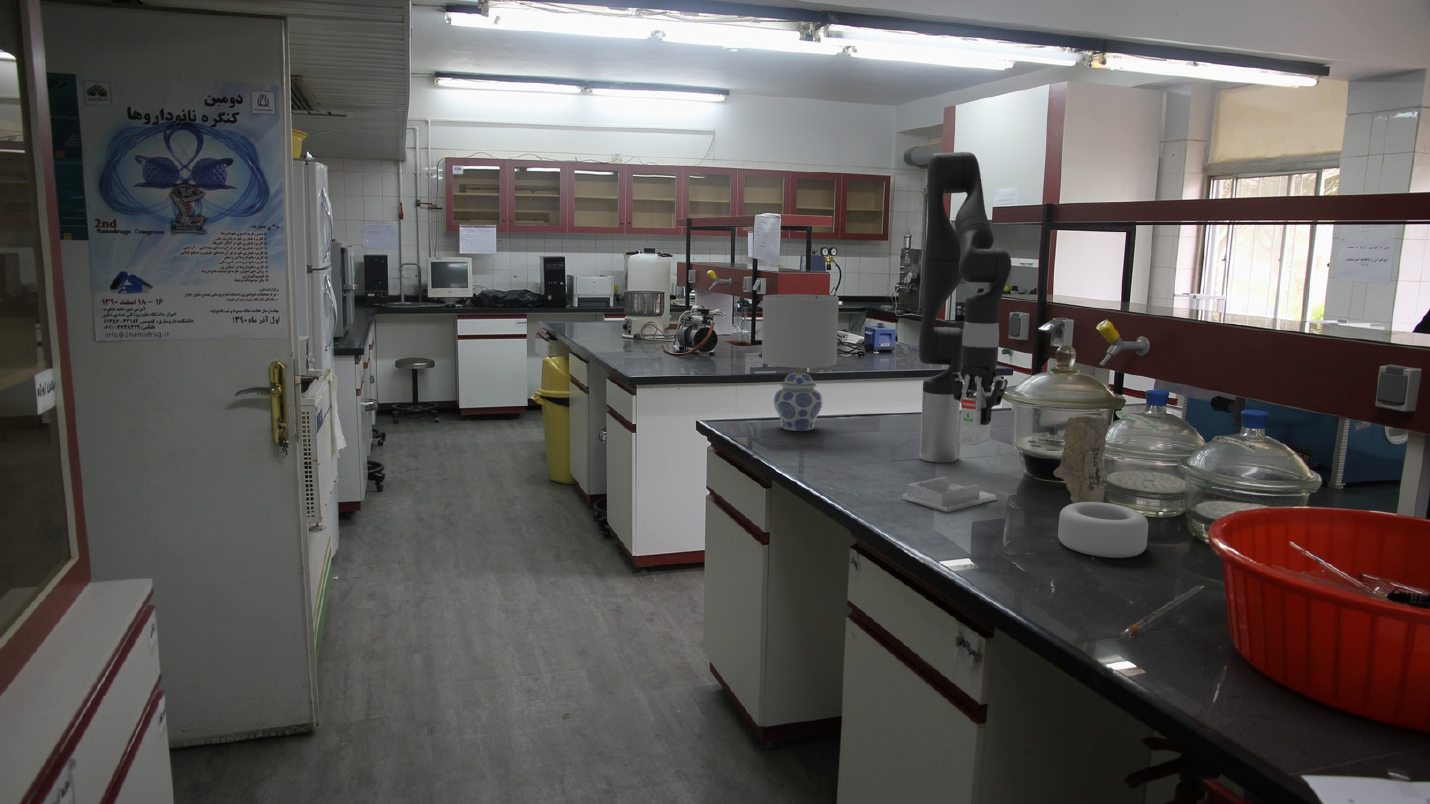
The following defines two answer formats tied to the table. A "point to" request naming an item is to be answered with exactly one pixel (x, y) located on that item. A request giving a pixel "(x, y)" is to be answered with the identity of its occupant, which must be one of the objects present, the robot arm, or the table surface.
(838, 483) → the table surface
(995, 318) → the robot arm
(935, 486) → the bracket
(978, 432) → the ink box
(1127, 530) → the thick torus
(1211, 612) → the table surface
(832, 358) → the lamp
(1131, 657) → the table surface
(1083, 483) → the stone tool
